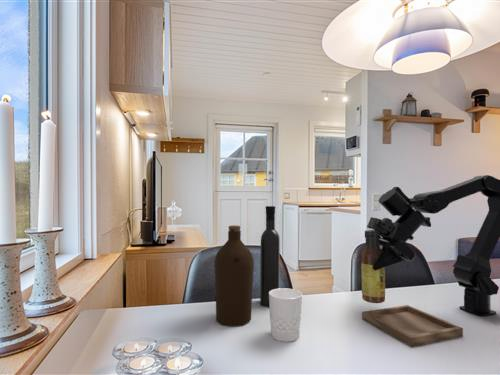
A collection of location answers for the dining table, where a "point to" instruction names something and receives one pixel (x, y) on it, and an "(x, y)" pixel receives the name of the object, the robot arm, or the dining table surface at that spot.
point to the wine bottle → (269, 258)
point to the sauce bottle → (370, 278)
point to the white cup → (285, 314)
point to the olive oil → (233, 281)
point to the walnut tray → (412, 325)
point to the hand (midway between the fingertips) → (368, 266)
